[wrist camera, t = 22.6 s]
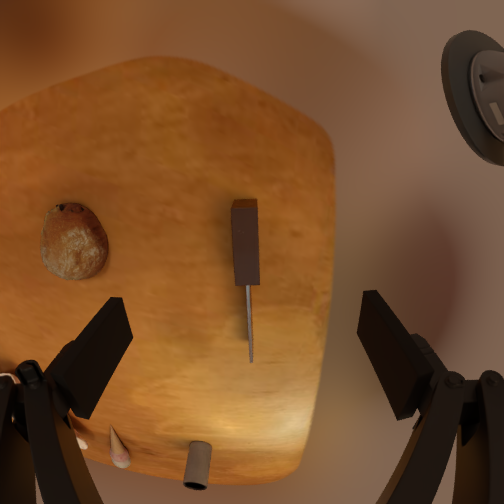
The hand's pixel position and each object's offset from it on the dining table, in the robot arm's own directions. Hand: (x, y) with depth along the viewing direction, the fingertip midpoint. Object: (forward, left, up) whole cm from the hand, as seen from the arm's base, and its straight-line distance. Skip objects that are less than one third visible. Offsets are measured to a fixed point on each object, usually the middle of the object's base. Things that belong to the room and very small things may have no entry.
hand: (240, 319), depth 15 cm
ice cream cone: (+56, +18, -19) cm, 62 cm away
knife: (+4, +5, -19) cm, 20 cm away
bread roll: (+18, -14, -19) cm, 30 cm away
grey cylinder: (+37, +28, -19) cm, 50 cm away
